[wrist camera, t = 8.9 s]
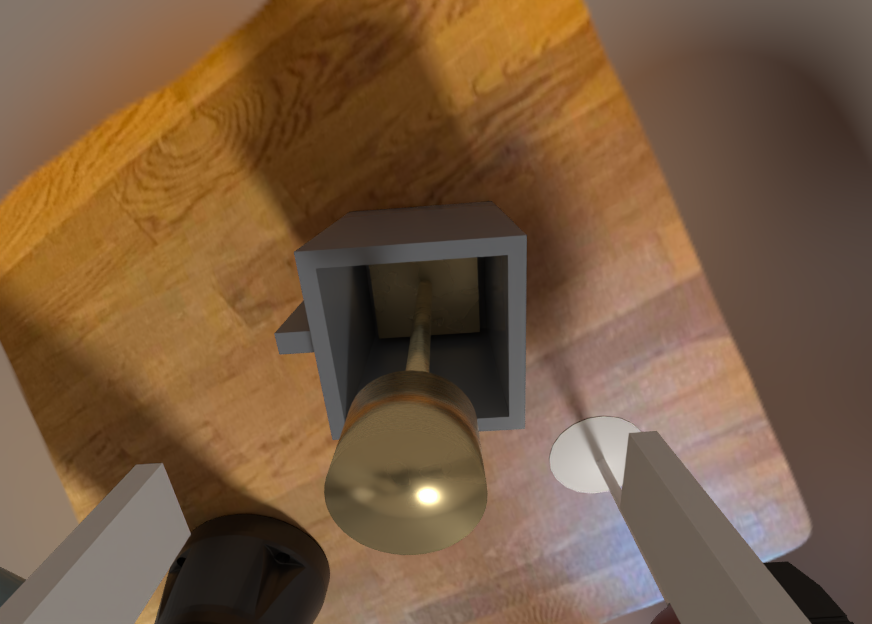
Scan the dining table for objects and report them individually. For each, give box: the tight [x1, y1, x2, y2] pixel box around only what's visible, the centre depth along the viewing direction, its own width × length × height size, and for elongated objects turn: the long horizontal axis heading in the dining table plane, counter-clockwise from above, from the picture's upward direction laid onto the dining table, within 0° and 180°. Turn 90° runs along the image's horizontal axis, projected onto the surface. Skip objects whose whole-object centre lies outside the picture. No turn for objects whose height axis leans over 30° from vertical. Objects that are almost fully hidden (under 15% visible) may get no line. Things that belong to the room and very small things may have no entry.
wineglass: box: [549, 416, 681, 624], centre depth 26 cm, size 9×10×23 cm
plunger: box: [324, 257, 487, 555], centre depth 20 cm, size 7×7×19 cm
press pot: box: [274, 201, 527, 440], centre depth 25 cm, size 12×10×12 cm
